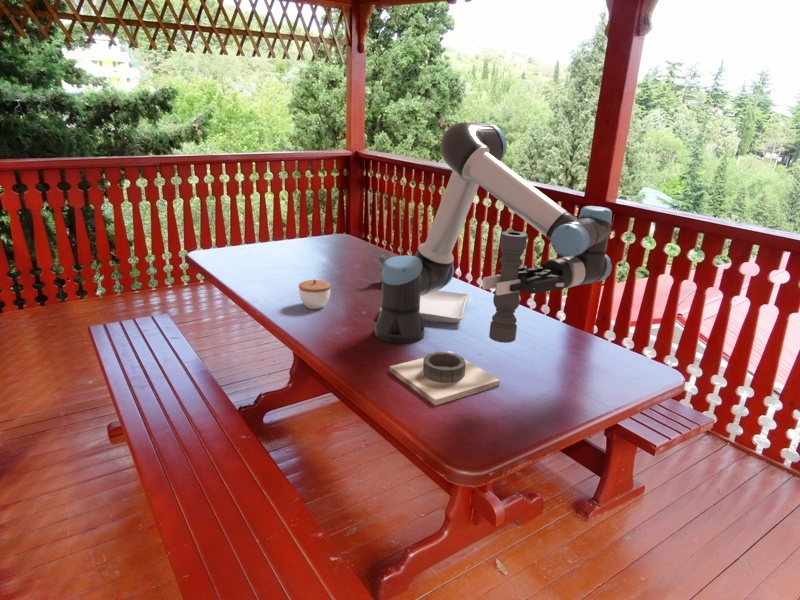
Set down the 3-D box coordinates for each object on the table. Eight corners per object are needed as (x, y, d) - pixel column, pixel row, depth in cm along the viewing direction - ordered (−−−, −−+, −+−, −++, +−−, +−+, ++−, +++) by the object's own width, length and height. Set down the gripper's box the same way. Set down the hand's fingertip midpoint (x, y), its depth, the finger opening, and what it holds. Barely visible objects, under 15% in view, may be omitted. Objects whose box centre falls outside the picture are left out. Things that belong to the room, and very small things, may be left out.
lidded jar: (335, 308, 186) (335, 282, 183) (305, 313, 181) (305, 286, 177) (323, 299, 194) (323, 273, 191) (294, 303, 189) (294, 277, 186)
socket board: (389, 371, 142) (390, 354, 140) (450, 355, 153) (451, 339, 151) (435, 405, 126) (436, 386, 125) (499, 385, 137) (501, 367, 135)
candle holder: (512, 332, 132) (524, 231, 124) (518, 343, 126) (531, 237, 118) (486, 331, 132) (497, 230, 123) (491, 342, 126) (503, 236, 117)
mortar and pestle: (396, 278, 221) (397, 249, 217) (409, 284, 214) (410, 255, 210) (372, 282, 216) (373, 252, 212) (384, 288, 208) (385, 258, 204)
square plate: (461, 329, 173) (462, 317, 172) (378, 320, 178) (378, 309, 176) (468, 302, 198) (469, 292, 197) (395, 294, 203) (395, 284, 202)
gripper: (587, 298, 129) (515, 314, 116) (534, 278, 142) (464, 291, 129) (592, 267, 126) (519, 280, 114) (537, 250, 139) (467, 260, 127)
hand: (490, 286), depth 122 cm, fingers closed on candle holder, 4 cm apart
